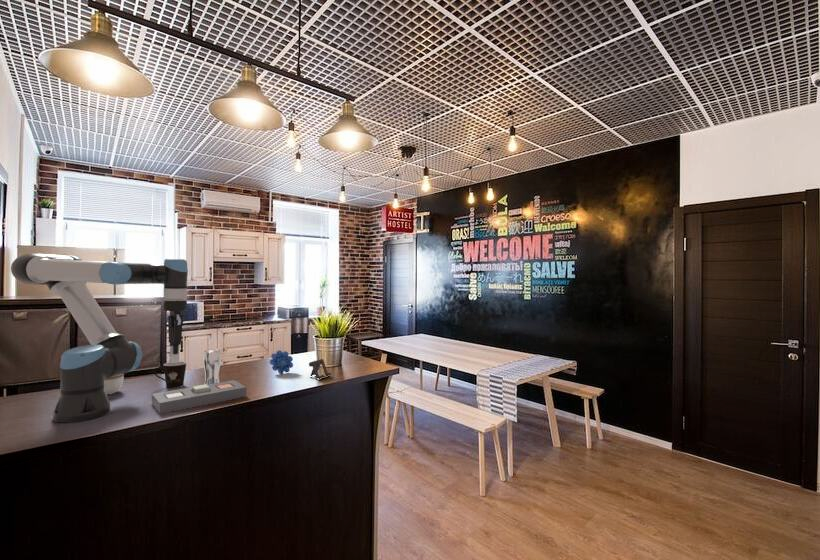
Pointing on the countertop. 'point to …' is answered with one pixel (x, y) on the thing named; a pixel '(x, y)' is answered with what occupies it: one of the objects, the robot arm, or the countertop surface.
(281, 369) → the blue gear
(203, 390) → the sage key
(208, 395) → the keypad
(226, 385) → the terracotta key
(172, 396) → the cream key
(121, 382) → the lidded jar
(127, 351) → the robot arm
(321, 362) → the portable electronic device stand
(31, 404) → the countertop surface
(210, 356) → the beer glass
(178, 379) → the coffee mug
